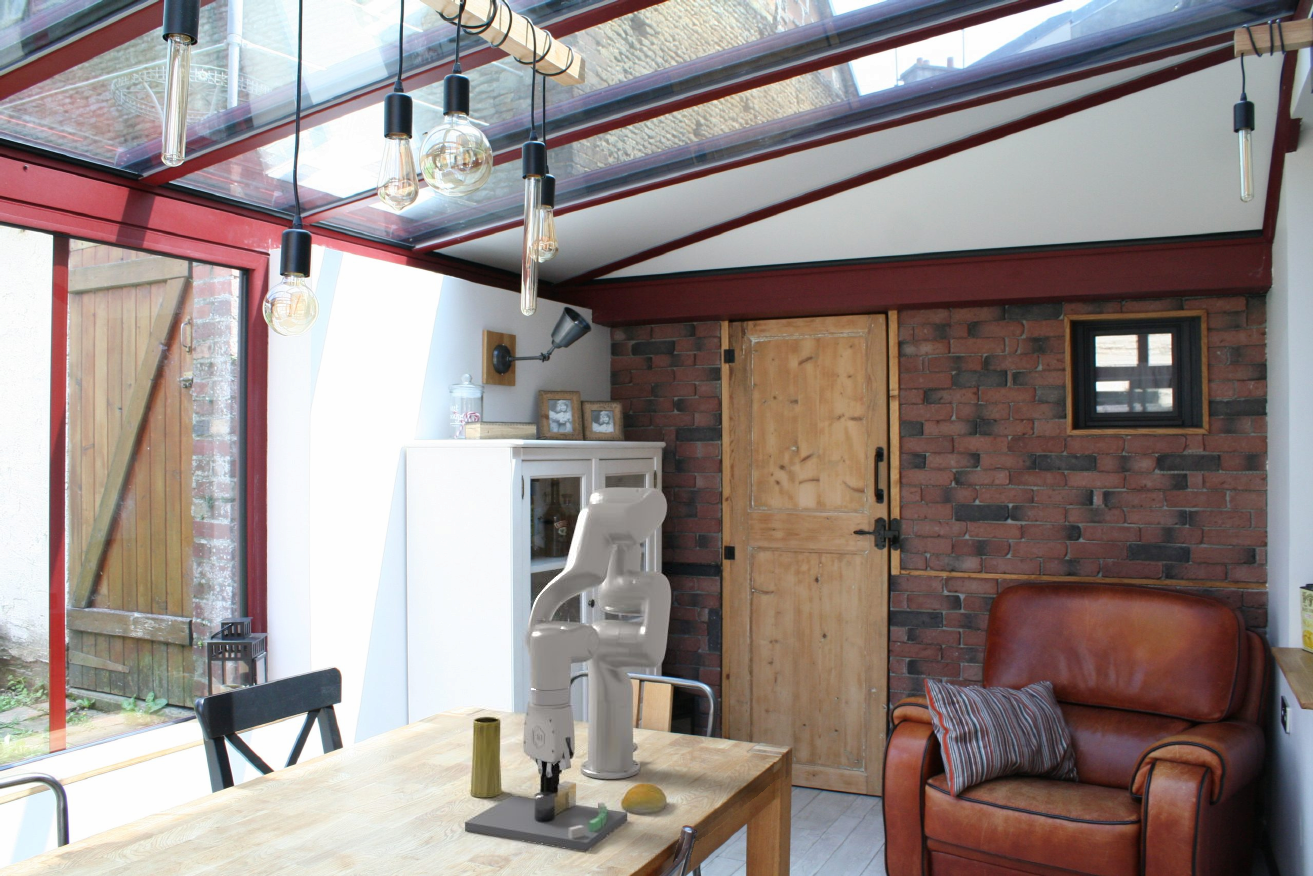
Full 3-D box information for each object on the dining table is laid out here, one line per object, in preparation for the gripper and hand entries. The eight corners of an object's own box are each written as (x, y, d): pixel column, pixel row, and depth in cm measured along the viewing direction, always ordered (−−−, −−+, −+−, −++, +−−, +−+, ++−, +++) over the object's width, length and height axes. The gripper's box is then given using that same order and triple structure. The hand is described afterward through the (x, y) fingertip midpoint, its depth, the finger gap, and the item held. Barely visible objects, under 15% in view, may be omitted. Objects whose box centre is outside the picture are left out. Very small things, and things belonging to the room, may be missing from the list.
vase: (495, 799, 189) (495, 724, 190) (465, 797, 190) (466, 722, 191) (506, 789, 195) (506, 717, 196) (477, 787, 196) (478, 715, 197)
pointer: (547, 822, 171) (547, 799, 172) (530, 819, 173) (530, 796, 173) (578, 805, 181) (578, 783, 181) (562, 802, 182) (562, 780, 182)
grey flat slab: (512, 803, 187) (513, 787, 187) (627, 821, 177) (627, 804, 177) (464, 830, 172) (465, 813, 172) (586, 851, 163) (586, 833, 163)
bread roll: (617, 814, 181) (617, 792, 182) (628, 799, 190) (628, 778, 190) (661, 817, 180) (661, 795, 180) (670, 802, 189) (670, 781, 189)
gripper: (509, 693, 184) (509, 791, 184) (560, 706, 174) (559, 811, 173) (541, 686, 190) (540, 782, 189) (592, 699, 179) (591, 801, 179)
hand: (549, 796), depth 181 cm, fingers closed
